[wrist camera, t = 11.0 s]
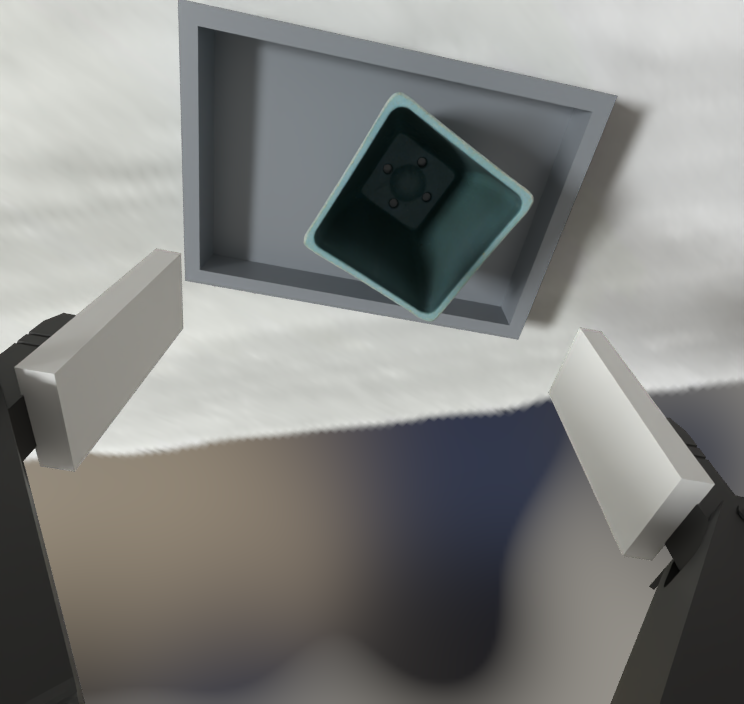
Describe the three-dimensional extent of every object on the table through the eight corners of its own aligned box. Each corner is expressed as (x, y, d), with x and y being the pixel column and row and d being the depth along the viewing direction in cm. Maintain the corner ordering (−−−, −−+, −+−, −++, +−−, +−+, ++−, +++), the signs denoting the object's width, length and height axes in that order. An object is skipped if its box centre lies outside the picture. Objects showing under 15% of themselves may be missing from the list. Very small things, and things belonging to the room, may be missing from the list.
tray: (591, 90, 30) (617, 95, 26) (506, 314, 38) (518, 339, 35) (203, 4, 28) (178, -2, 25) (203, 259, 36) (185, 280, 33)
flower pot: (502, 163, 31) (540, 199, 24) (421, 267, 35) (431, 327, 28) (393, 76, 29) (396, 86, 21) (319, 199, 33) (299, 244, 25)
